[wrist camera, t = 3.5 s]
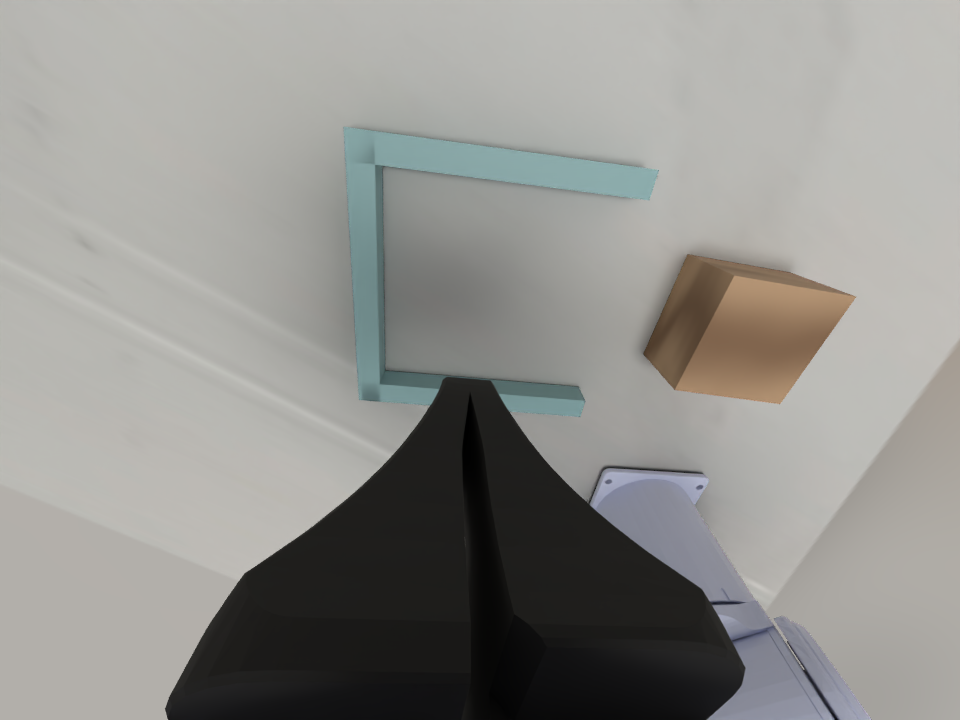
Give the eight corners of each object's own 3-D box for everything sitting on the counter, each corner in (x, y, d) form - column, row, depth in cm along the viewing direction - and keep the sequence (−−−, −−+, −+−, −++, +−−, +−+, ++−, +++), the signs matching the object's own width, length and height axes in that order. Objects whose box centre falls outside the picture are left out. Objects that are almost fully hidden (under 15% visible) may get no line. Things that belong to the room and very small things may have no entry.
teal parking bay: (573, 402, 23) (580, 416, 22) (365, 385, 22) (359, 399, 21) (644, 168, 17) (658, 170, 16) (353, 128, 16) (343, 126, 14)
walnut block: (731, 365, 23) (780, 403, 19) (641, 352, 22) (674, 389, 18) (787, 271, 20) (856, 296, 16) (685, 253, 19) (734, 275, 16)
